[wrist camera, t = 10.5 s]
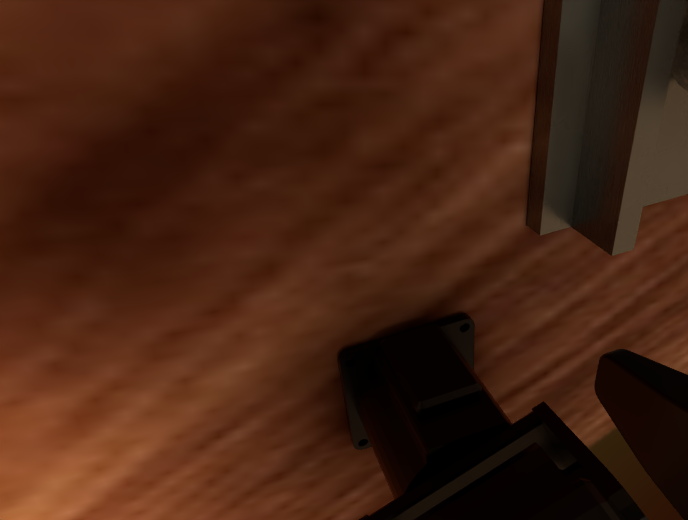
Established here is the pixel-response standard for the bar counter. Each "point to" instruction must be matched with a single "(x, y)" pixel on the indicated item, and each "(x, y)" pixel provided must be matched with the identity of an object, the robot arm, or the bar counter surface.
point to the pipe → (682, 54)
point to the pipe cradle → (607, 118)
